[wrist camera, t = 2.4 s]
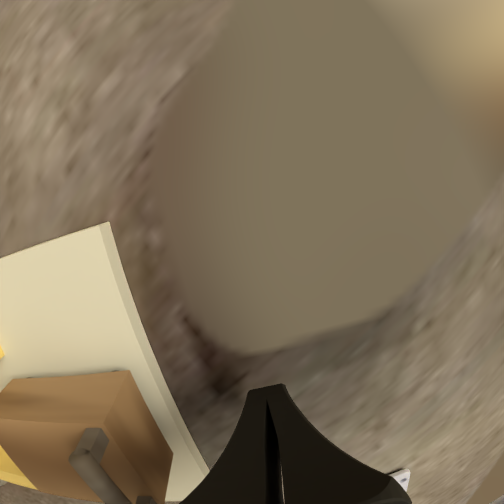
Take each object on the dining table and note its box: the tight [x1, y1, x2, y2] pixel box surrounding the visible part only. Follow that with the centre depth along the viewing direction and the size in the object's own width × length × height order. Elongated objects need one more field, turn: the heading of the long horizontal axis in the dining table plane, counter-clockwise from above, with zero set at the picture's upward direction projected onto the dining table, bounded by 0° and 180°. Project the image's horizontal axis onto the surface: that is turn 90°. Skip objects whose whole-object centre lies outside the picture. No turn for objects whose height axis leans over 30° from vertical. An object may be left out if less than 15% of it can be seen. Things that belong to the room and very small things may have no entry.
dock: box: [0, 222, 210, 501], centre depth 12 cm, size 16×17×3 cm
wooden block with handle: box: [0, 370, 174, 504], centre depth 10 cm, size 5×7×6 cm
